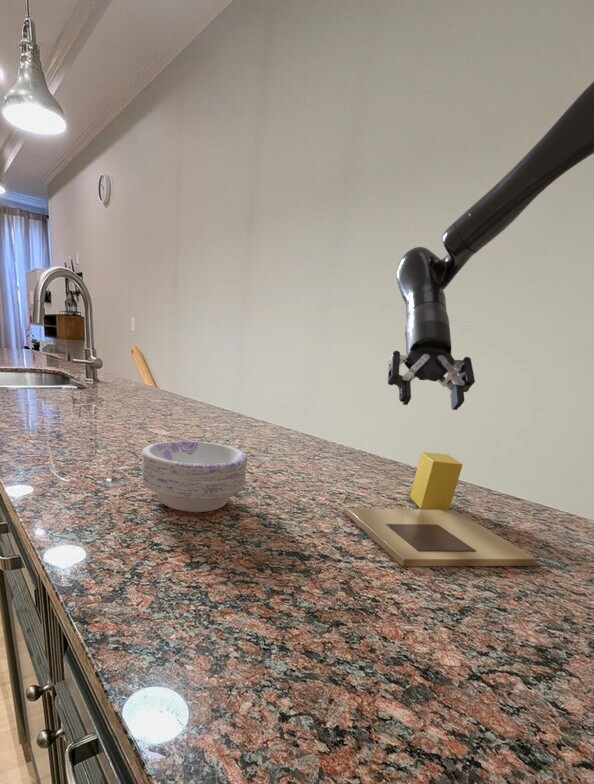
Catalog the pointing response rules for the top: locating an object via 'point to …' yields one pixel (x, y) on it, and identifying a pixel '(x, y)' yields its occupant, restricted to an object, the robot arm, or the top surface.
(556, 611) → the top surface
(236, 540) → the top surface
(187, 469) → the paper bowls
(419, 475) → the yellow block
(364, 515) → the board
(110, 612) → the top surface
